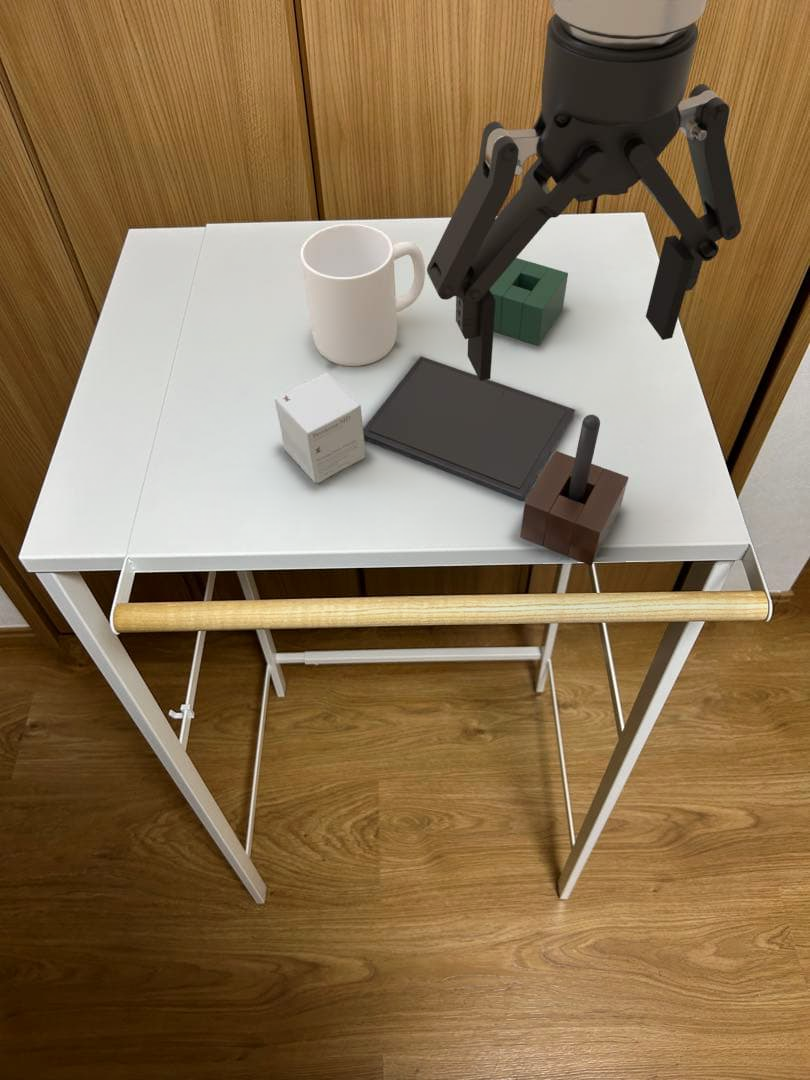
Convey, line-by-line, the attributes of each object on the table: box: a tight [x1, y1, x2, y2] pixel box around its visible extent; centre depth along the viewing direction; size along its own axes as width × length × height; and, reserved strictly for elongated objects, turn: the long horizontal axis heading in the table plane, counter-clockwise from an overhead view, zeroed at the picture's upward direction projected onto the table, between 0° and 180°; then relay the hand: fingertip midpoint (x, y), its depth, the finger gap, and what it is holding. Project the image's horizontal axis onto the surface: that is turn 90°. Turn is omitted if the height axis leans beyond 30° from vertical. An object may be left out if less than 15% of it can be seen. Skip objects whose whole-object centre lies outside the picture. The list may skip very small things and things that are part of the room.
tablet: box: [363, 355, 576, 502], centre depth 85 cm, size 18×13×1 cm
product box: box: [274, 371, 366, 484], centre depth 80 cm, size 6×6×7 cm
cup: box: [300, 223, 426, 367], centre depth 89 cm, size 9×14×12 cm
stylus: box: [567, 414, 601, 503], centre depth 72 cm, size 1×1×14 cm
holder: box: [519, 450, 630, 567], centre depth 75 cm, size 7×7×5 cm
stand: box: [489, 257, 569, 346], centre depth 93 cm, size 7×7×5 cm
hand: (570, 347), depth 59 cm, fingers open, 13 cm apart
